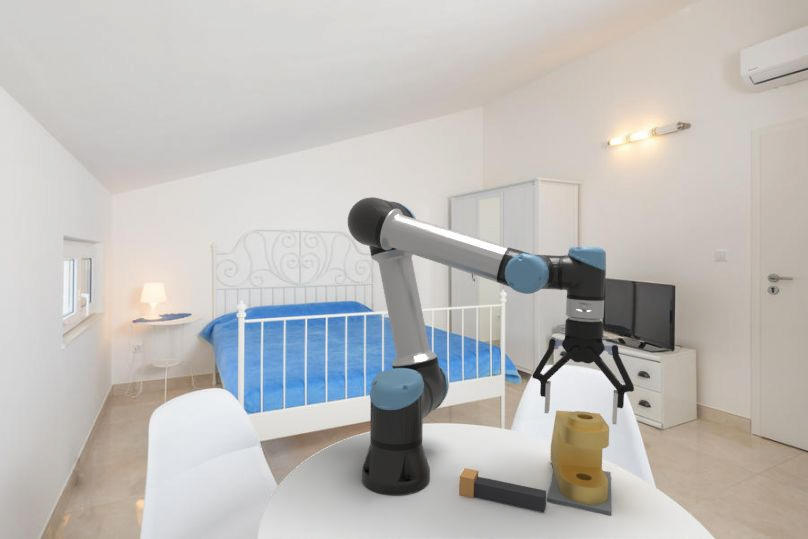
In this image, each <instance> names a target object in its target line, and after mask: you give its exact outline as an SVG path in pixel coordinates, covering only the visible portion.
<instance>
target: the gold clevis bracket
mask: <svg viewBox="0 0 808 539" xmlns="http://www.w3.org/2000/svg"><path fill="white" fill-rule="evenodd" d="M609 445H610V426H609V424H608V423H607V422H606V420H605V419H604V418H603V416H602V415H601V413H599V412H598V413H597V412H589V411H581V410H579V411H576V410H575V411H570V410H569V411H568V410H556V411H555V417H554V424H553V428H552V436H551V443H550V461H551V462H550V463H551V465H552V468H553V471H554V472H555V475H556V478H557V481H558V485H559V488H560V491H561V493H562V494H563V495H564V496H565V497H567V498H568V499H570V500H573V501H575V502H578V503H582V504H589V505H597V504H602V503H604V502H606V501H607V499H608V479H607V477H606V476H605V474H604V472H603V471H604V470H603V449H606V448H608V447H609Z"/></svg>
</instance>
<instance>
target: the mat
mask: <svg viewBox="0 0 808 539" xmlns="http://www.w3.org/2000/svg"><path fill="white" fill-rule="evenodd" d="M552 471H553V472H552V475H551V476H552V477H551V479H550V484H549V488H548V490H547V494H546V503H550V504H551V503H552V504H554V505H555V504H556V505H561V506H564V507H570V508H575V509H579V510H582V511H587V512H593V513H596V514H602V515H607V516H612V483H611V482H612V481H611V480H612V478H611V477H612V476H611V471H605V470H603V472H604V474H605V476H606V477H607V479H608V499H607V501H606V502H604V503H602V504H597V505H589V504H582V503H578V502H575V501H573V500H570V499H568V498H567V497H565V496H564V495H563V494H562V493H561V491H560V488H559V485H558V481H557V478H556V475H555V472H554V470H552Z"/></svg>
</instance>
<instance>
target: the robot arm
mask: <svg viewBox="0 0 808 539" xmlns="http://www.w3.org/2000/svg"><path fill="white" fill-rule="evenodd" d="M347 227H348V231H349V233H350V235H351V236H352V238H353V239H354V240H355V241H357V243H360V244H361V245H364V246H368V247H369V252H370V258H371V259H372V260H373V261H375V262H376V263H377V264H378V267H379V272H380V277H381V278H380V279H381V283H382V288H383V293H384V299H385V303H386V308H387V314H388V319H389V325H390V330H391V335H392V340H393V346H394V351H395V357H394V360H393V361H392V363H391V369H385V370H382V371H381V372H379V373H377V374H376V375H375V376H374V377H373V378H372V381H371V385H370V386H371V388H370V392H369V399H370V416H369V417H370V428H369V429H370V442H369V446H368V450H367V453H366V456H365V460H364V462H363V464H362V469H361V472H362V473H361V480H362V483H363V485H364V486H365V487H366V488H367V489H369V490H371V491H374V492H376V493H378V494H383V495H388V496H389V495H390V496H391V495H392V496H400V495H401V496H402V495H409V494H413V493H416V492H419V491H421V490H423V489H425V488H426V486H429V483H430V482H431V481H430V480H431V477H430V476H431V475H430V474H431V472H430V471H431V470H430V469H431V468H430V464H429V462H428V458H427V455H426V452H425V449H424V446H423V427H424V426H423V425H424V424H423V422H424V421H423V420H424V419H425V418H426V417H427V416H429V415H430V413H432V412H433V411H435V410H437V409H438V408H439V407H440V406H441V404H442V403H443V402H444V400H446V397H447V395H448V392H449V386H450V385H449V377H448V375H447V372H446V370H444V368H443V367H441V366H440V364H439V360H438V355H437V353H435V352H434V351H432V350H431V349H430V344H429V340H428V334H427V329H426V324H425V319H424V314H423V309H422V304H421V300H420V299H421V298H420V294H419V289H418V282H417V278H416V273H415V268H414V263H413V259H412V258H413V255H414V256H417V257H420V258H423V259H426V260H429V261H432V262H434V263H435V262H436V263H439V264H441V265H444V266H447V267H450V268H453V269H456V270H459V271H462V272H465V273H468V274H471V275H474V276H478V277H480V278H483V279H486V280H489V281H492V282H495V283H498V284H501V285H503V286H506V287H509V288H511V289H512V290H513V291H515V292H517V293H521V294H525V295H529V294H533V293H536V292H539V291H540V290H557V291H558V290H559V291H566V304H565V306H566V307H565V309H566V310H565V316H566V317H568V318H566V319H565V326H564V327H565V329H564V330H565V331H564V339H563V340H562V339H556V337H553V336H552V337H551V338H550V339H549V342H548V348H547V350H546V351H545V354H544V355H543V357H542V358H541V361H539V363H538V365H537V367H536V368H535V370H534V371H533V373H532V375H531V376H532V379H535V380H538V381H539V382H540V390H539V391H540V392H539V395H540V397H544V414H549V412H550V408H551V407H550V404H551V384H552V383H551V380H549V379H550V378H551V377H553V375H555V374H556V373H557V372H558V371H559V370H561V368H562V367H563V366H564V365H565V364H566V363H568V362H569V361H570V360H571V361H573V362H574V363H584V364H587V365H588V364H589V365H590V364H592V363H594V364H595V365H596V366H597V367H598V368H599V370H600V371H601V372H602V374H604V376H605V377H606V378H607V380H609V382H610V383H611V385H612V386H613V387H614V389H613V396H612V397H613V398H612V400H613V402H612V418H611V420H612V421H611V422H612V425H616V426H617V424H618V422H617V419H618V409H623V408H624V403H625V402H624V401H625V394H626V393H628V392H634V391H635V387H634V384H633V382H632V379H631V377H630V375H629V373H628V371H627V368H626V366H625V365H624V363H623V360H622V358H621V356H620V354H619V345H618V343H613V344H604V341H603V336H604V334H603V333H604V322H603V321H602V319H604V314H605V313H604V312H605V292H606V278H607V277H606V275H607V253H606V250H604V248H601V247H595V246H571V247H570V248H569V249H568V252H567V254H566V255H565V254H564V255H553V254H552V255H550V254H548V255H547V254H534V253H529V252H526V251H523V250H521V249H520V250H519V249H516V248H512V247H509V246H506V245H502V244H499V243H496V242H493V241H489V240H487V239H486V240H485V239H483V238H480V237H476V236H473V235H470V234H467V233H463V232H459V231H456V230H453V229H450V228H446V227H443V226H440V225H437V224H433V223H429V222H427V221H424V220H421V219H417V218H416V216H415V214H414V212H413V211H412V210H411V209H409V208H408V207H407V206H405V205H404V204H401V203H399V202H396V201H390V200H385V199H383V198H379V197H373V196H371V197H365V198H362V199H360V200H359V201H356V203H354V205H353V206H352V207H351V208H350V210H349V213H348V216H347ZM559 347H562V348H563V350H564V351H565V352H566V353H564V354H563V356H562V357H560V358H559V359H558V360H557V361H556V362H555V363H554V364H553V365H552V366H551V367H550V368H549V369H547V371H546V372H545V373H542V371H543V369H544V368H545V366H546V365H547V363H548V361H549V360H550V358H551V356H552V354H553V353H554V351H555V350H558V349H559ZM605 351H606V352H607V353H608V355H609V356H612V359H613V361H614V364H615V365H616V367H617V368H616V369H617V370H618V372H619V374H620V376H621V378H622V381H623V383H624V384H622V383H621V381H620V380H619V378H617V377H616V375H615V374H614V373H613V372H612V370H611V369H610V368H609V366H608V365H607V364H606V362H605V361H604V359H603V358H602V357H601V355H602V354H603V353H604V352H605Z"/></svg>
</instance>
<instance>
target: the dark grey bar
mask: <svg viewBox="0 0 808 539" xmlns="http://www.w3.org/2000/svg"><path fill="white" fill-rule="evenodd" d="M458 486H459V487H458V488H459V490H458V491H459V492H458V493H459V494H458V496H461V497H466V498H470V499H474V498H475V499H476V498H477V499H480V500H484V501H489V502H494V503H498V504H499V503H500V504H503V505H507V506H511V507H515V508H521V509H525V510H529V511H534V512H539V513H542V514H543V513H545V510H546V507H547V490H545V489H539V488H535V487H531V486H526V485H521V484H516V483H510V482H505V481H501V480H496V479H493V478H487V477H483V476H482V477H481V476H479V470H475V469H471V468H463V470H462V472H461V473H460V474H459V484H458Z"/></svg>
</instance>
